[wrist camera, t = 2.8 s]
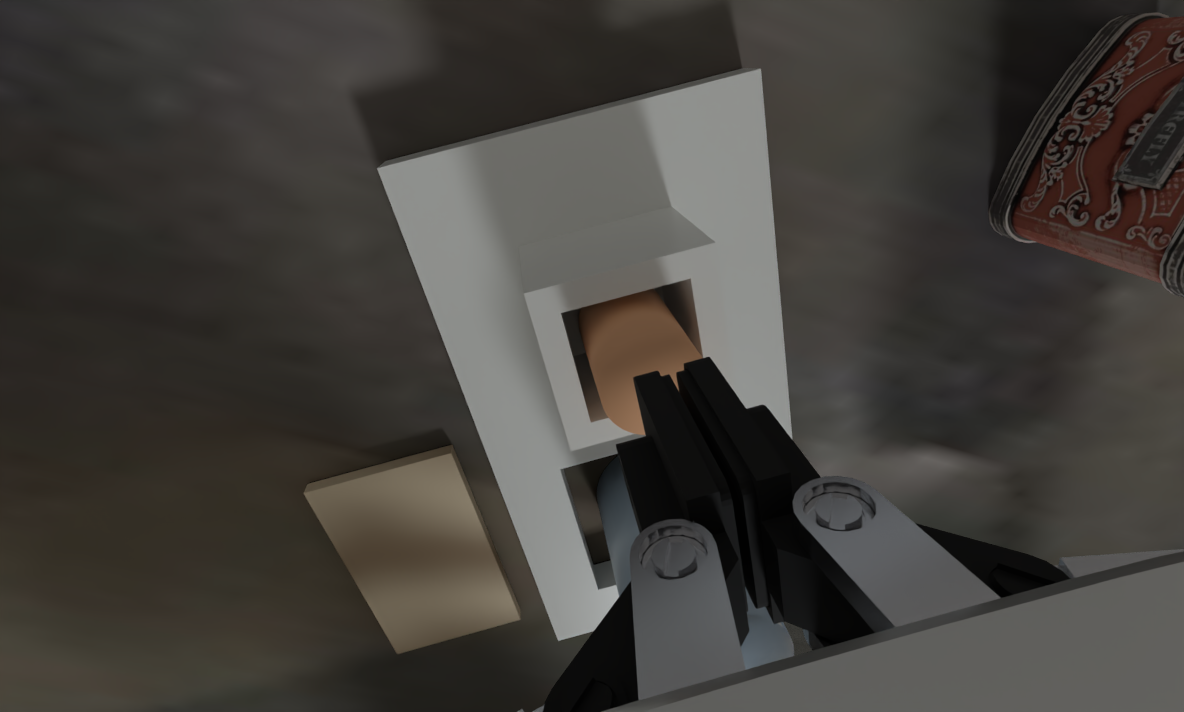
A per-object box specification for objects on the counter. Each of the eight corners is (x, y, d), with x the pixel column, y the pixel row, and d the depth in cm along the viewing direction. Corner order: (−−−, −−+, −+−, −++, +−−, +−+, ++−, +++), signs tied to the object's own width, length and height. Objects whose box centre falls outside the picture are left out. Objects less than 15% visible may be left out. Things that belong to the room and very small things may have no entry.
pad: (520, 609, 29) (520, 619, 28) (399, 643, 29) (397, 654, 28) (452, 444, 24) (451, 453, 24) (307, 483, 24) (303, 493, 24)
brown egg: (671, 346, 20) (715, 418, 16) (589, 368, 20) (612, 447, 16) (656, 267, 18) (701, 324, 14) (569, 291, 18) (589, 354, 14)
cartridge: (712, 515, 28) (798, 696, 20) (609, 543, 28) (654, 738, 20) (697, 428, 26) (788, 594, 18) (584, 459, 26) (625, 640, 18)
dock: (789, 548, 30) (853, 655, 24) (555, 614, 29) (568, 737, 24) (742, 68, 20) (834, 70, 14) (385, 160, 19) (342, 198, 14)
